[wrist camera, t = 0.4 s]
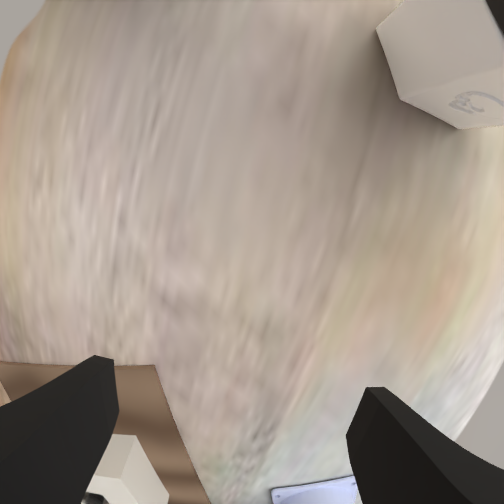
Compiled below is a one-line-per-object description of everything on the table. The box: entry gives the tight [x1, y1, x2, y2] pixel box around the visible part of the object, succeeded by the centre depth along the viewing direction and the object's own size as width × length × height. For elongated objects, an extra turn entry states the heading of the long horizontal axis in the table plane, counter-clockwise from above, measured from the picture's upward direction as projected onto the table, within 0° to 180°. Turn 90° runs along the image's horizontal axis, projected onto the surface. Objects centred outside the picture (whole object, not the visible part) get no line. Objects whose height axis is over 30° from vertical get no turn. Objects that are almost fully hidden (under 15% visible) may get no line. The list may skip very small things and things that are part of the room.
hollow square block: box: [81, 434, 169, 504], centre depth 20 cm, size 9×9×5 cm
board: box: [0, 361, 211, 504], centre depth 22 cm, size 22×16×1 cm
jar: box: [376, 0, 504, 129], centre depth 9 cm, size 9×8×12 cm
